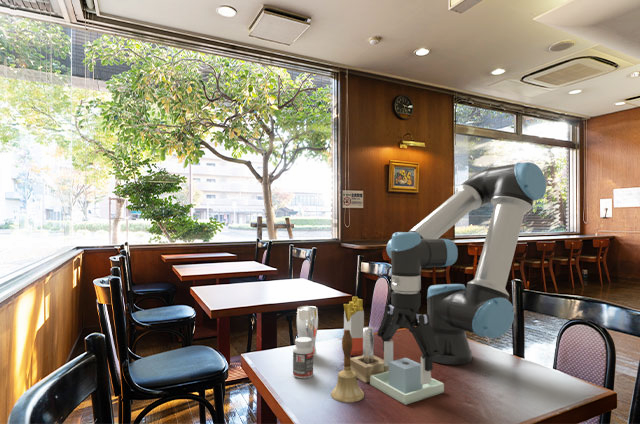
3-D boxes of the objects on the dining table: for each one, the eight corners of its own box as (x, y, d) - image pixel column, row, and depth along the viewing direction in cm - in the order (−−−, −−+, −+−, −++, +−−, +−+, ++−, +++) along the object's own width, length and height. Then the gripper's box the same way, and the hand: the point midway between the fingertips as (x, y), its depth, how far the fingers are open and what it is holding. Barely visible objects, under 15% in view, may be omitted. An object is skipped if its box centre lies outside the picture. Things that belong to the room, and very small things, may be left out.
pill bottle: (310, 380, 103) (310, 343, 103) (290, 378, 104) (290, 341, 104) (315, 372, 108) (315, 337, 109) (295, 370, 110) (296, 335, 110)
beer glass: (291, 354, 123) (292, 308, 123) (307, 349, 128) (307, 304, 128) (307, 360, 118) (307, 311, 118) (322, 354, 123) (322, 308, 123)
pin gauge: (369, 371, 109) (369, 326, 109) (375, 375, 106) (375, 328, 107) (360, 373, 107) (360, 327, 108) (367, 377, 105) (367, 330, 105)
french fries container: (350, 358, 119) (350, 301, 120) (342, 347, 130) (342, 295, 130) (364, 358, 120) (364, 301, 120) (355, 347, 131) (355, 294, 131)
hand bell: (324, 395, 93) (324, 330, 94) (344, 385, 100) (344, 324, 100) (351, 406, 88) (351, 337, 89) (370, 394, 94) (370, 329, 95)
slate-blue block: (405, 380, 102) (405, 357, 102) (422, 388, 97) (422, 364, 97) (388, 384, 99) (388, 361, 99) (405, 393, 94) (405, 369, 94)
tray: (406, 374, 107) (406, 366, 107) (444, 392, 96) (443, 383, 96) (370, 384, 100) (370, 375, 100) (405, 404, 89) (405, 395, 89)
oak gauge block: (370, 367, 112) (370, 353, 112) (388, 376, 105) (388, 362, 105) (348, 372, 108) (348, 358, 108) (365, 382, 101) (365, 367, 101)
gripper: (365, 285, 108) (365, 361, 107) (432, 301, 86) (432, 395, 85) (385, 283, 111) (385, 356, 111) (454, 298, 90) (455, 388, 89)
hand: (406, 373), depth 98 cm, fingers open, 13 cm apart
